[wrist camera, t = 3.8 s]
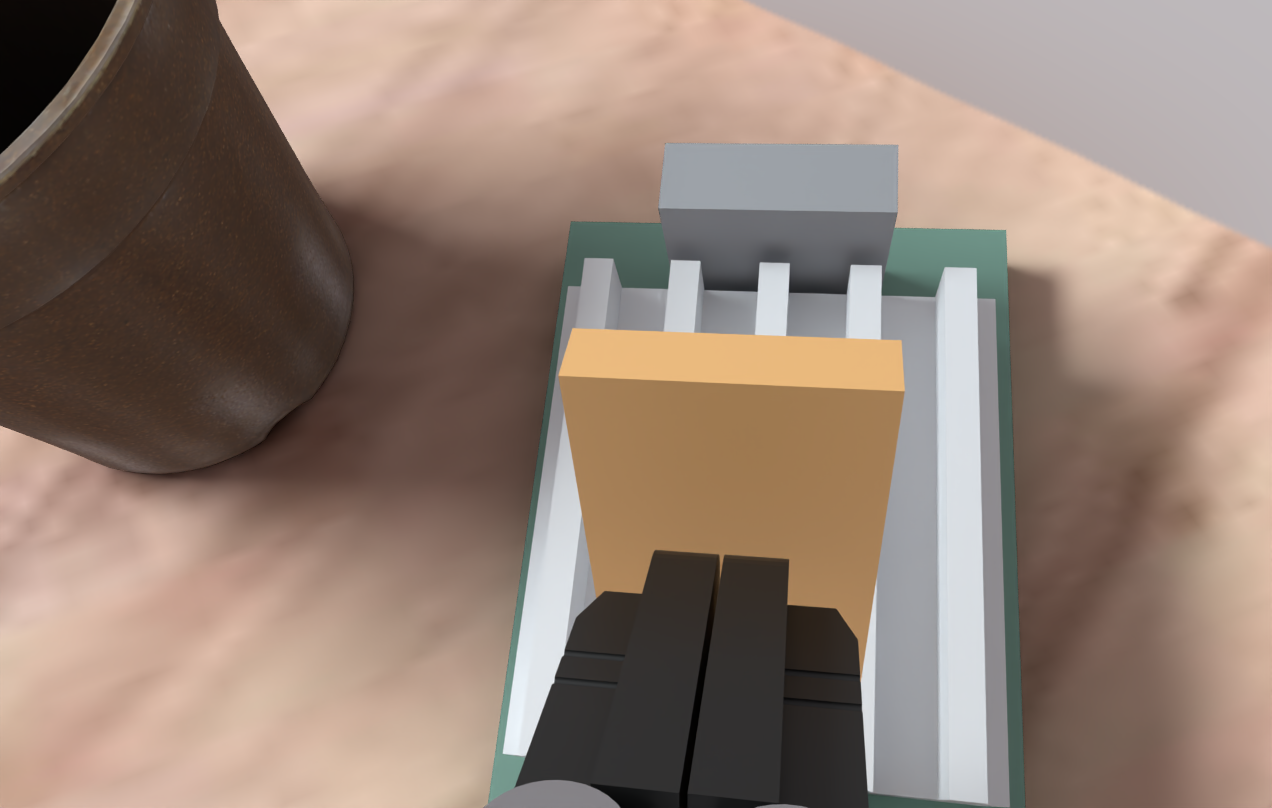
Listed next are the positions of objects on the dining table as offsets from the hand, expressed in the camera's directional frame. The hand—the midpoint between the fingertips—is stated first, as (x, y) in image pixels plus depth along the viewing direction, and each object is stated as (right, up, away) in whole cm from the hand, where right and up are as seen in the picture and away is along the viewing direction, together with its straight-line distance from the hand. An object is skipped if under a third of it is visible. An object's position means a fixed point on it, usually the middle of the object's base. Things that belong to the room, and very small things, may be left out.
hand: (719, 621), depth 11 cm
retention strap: (+1, -2, +5) cm, 5 cm away
